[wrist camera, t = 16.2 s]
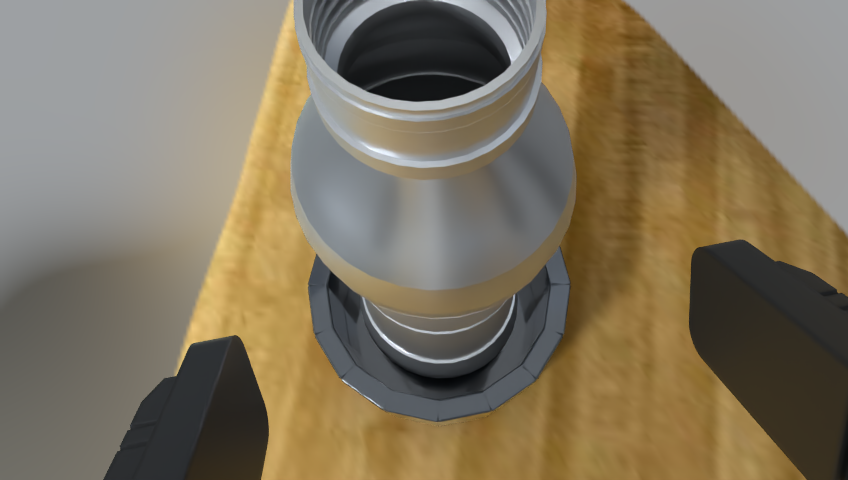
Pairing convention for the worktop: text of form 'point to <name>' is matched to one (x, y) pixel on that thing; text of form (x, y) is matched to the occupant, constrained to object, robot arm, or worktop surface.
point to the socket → (440, 397)
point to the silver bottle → (431, 168)
